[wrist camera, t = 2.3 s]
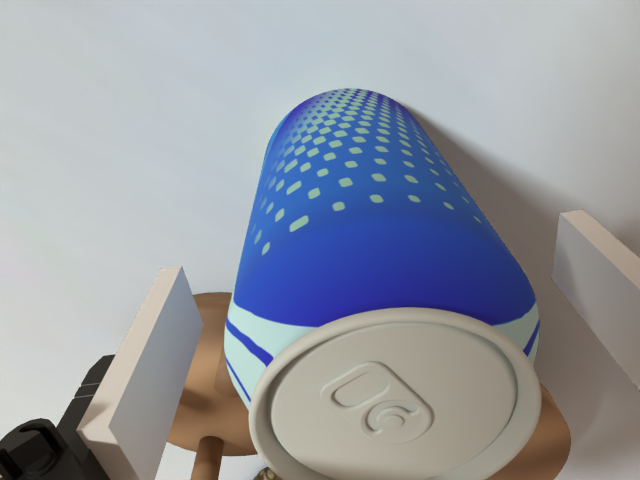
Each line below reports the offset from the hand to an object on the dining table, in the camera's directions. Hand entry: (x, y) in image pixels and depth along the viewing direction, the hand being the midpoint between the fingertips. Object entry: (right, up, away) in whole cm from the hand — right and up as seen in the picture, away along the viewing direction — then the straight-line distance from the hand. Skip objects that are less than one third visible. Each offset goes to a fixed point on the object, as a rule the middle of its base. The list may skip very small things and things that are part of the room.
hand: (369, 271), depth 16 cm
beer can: (0, +5, +8) cm, 10 cm away
